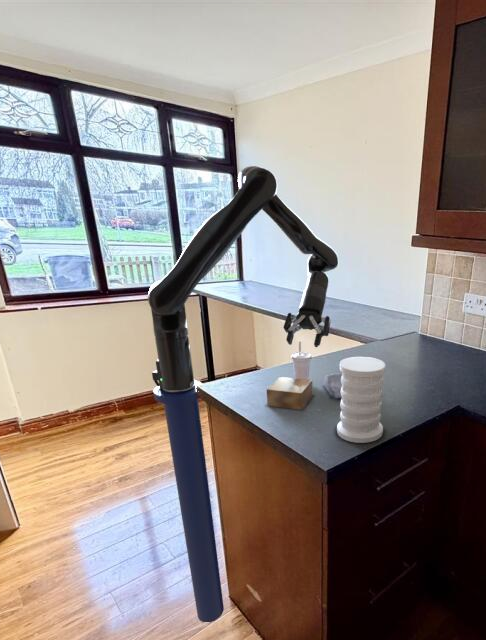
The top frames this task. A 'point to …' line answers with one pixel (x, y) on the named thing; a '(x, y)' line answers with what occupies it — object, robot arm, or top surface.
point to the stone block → (333, 385)
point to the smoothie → (301, 364)
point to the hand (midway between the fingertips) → (302, 344)
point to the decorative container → (361, 399)
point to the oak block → (289, 393)
